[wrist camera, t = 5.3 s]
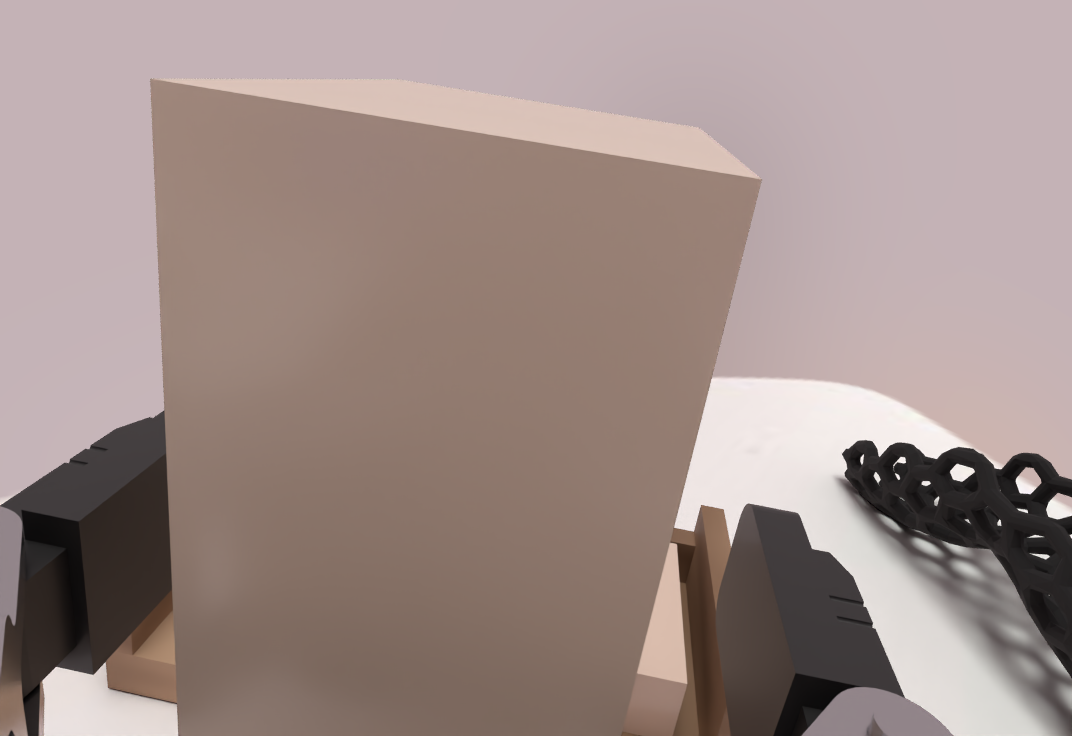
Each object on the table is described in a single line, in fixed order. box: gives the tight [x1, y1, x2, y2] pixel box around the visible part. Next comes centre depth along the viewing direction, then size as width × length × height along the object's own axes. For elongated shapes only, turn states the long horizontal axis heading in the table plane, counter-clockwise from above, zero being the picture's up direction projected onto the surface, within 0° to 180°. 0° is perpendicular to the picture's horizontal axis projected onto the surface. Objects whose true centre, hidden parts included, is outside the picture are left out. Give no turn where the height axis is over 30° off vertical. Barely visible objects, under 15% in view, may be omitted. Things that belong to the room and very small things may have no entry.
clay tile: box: [622, 543, 687, 736], centre depth 20 cm, size 4×6×2 cm
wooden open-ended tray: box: [106, 505, 731, 736], centre depth 21 cm, size 15×8×4 cm, turn 82°
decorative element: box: [842, 440, 1072, 678], centre depth 24 cm, size 22×5×6 cm, turn 8°
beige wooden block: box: [150, 79, 762, 736], centre depth 11 cm, size 4×6×15 cm
